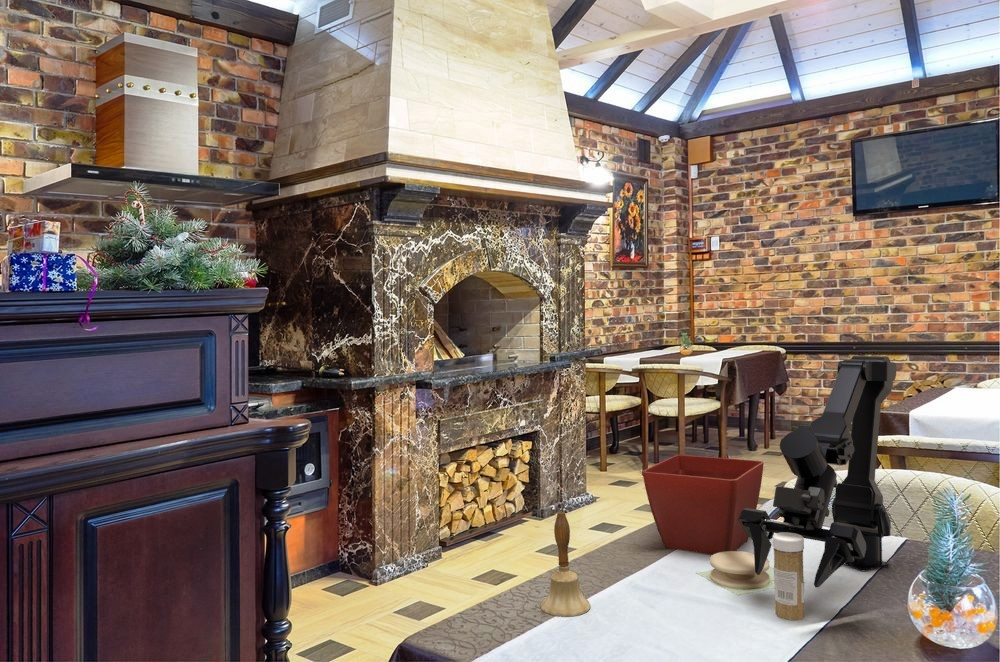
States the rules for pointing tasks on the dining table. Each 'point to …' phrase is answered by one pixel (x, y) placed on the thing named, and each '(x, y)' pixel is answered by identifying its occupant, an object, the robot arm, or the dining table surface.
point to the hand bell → (564, 579)
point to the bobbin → (738, 570)
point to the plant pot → (702, 501)
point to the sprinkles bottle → (788, 575)
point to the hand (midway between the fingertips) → (785, 579)
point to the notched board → (740, 591)
